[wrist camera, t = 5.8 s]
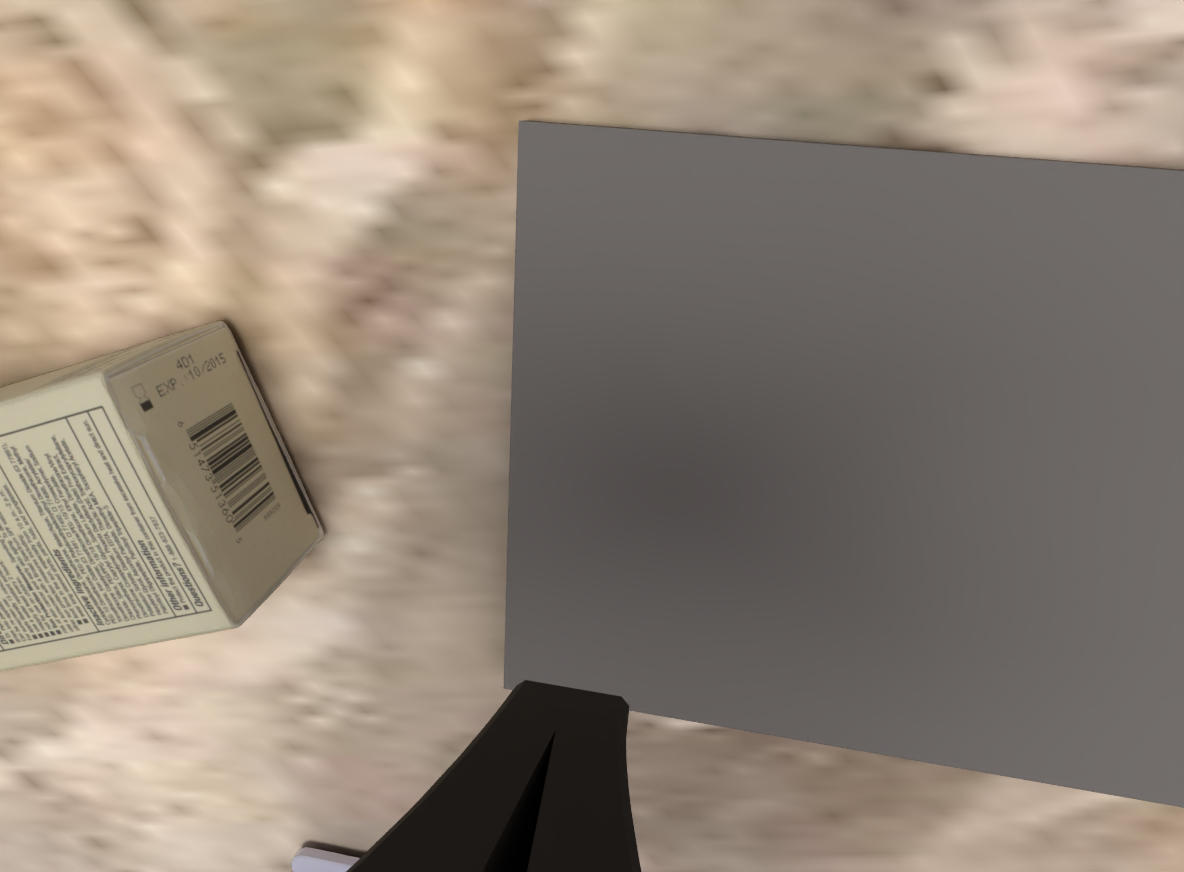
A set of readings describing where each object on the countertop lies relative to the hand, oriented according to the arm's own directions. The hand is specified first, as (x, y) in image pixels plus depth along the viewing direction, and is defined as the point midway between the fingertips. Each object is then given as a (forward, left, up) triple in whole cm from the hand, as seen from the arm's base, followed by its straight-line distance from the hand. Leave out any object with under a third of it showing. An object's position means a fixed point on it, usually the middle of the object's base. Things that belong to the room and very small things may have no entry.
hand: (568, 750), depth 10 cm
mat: (0, -5, -9) cm, 11 cm away
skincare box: (-1, +9, -7) cm, 11 cm away
